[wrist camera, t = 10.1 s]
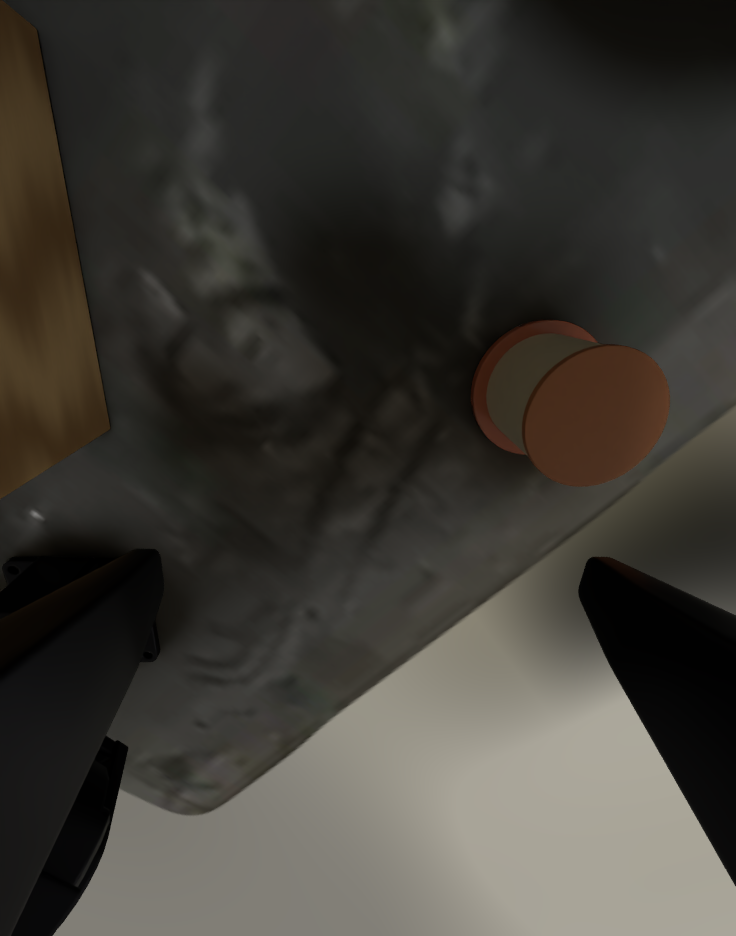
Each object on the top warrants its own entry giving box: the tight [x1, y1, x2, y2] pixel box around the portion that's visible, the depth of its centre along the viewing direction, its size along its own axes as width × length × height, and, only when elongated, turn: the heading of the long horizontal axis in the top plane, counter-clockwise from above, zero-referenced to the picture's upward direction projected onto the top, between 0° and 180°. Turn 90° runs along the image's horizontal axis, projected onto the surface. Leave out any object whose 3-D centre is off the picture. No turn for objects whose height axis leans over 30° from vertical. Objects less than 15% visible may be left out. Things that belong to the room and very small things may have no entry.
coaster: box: [471, 319, 598, 455], centre depth 19 cm, size 6×6×1 cm
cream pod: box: [486, 333, 670, 487], centre depth 17 cm, size 5×5×5 cm
